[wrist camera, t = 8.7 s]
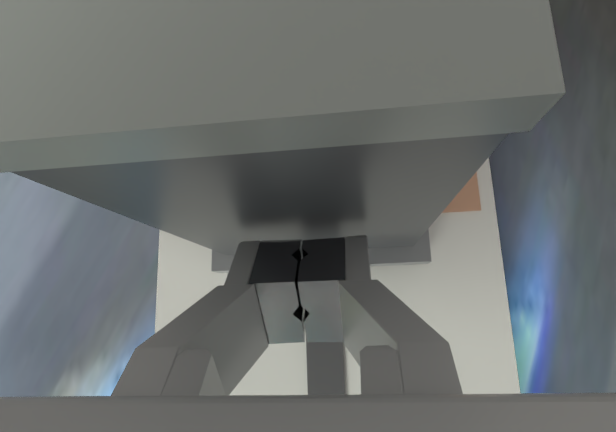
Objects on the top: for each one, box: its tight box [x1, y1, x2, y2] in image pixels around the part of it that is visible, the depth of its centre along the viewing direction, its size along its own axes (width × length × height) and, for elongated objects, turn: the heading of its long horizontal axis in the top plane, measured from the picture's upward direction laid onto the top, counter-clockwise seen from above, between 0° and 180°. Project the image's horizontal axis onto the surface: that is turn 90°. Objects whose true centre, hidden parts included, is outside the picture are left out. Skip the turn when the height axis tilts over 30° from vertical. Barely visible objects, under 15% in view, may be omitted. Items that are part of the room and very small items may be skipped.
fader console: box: [155, 157, 520, 395], centre depth 15 cm, size 26×12×3 cm, turn 2°
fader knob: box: [0, 0, 566, 273], centre depth 9 cm, size 4×7×10 cm, turn 92°
